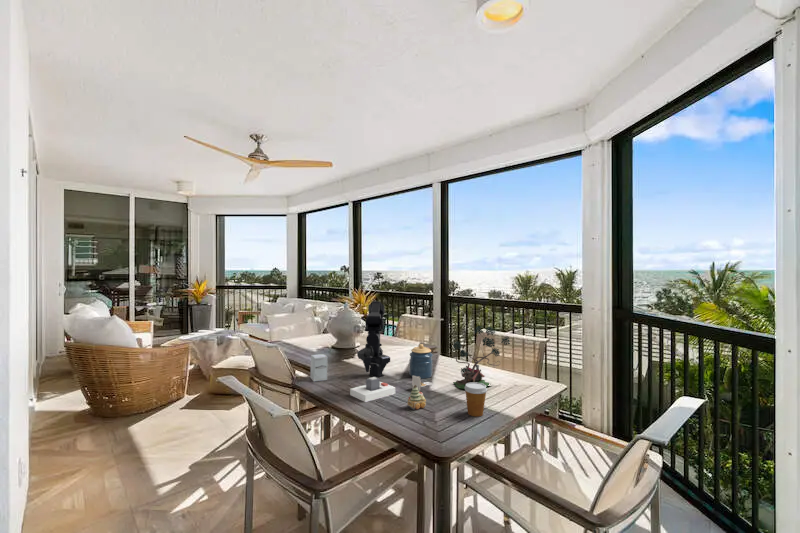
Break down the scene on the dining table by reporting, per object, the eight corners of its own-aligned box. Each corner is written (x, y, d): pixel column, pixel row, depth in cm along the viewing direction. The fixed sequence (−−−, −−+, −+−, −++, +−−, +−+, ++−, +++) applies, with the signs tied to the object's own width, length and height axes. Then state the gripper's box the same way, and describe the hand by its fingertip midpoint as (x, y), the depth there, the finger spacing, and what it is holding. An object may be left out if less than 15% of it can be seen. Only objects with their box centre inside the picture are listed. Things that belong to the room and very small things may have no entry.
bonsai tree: (479, 400, 181) (481, 332, 180) (441, 387, 199) (442, 325, 199) (522, 386, 203) (523, 325, 203) (484, 375, 222) (485, 319, 222)
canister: (405, 377, 216) (406, 345, 216) (413, 371, 228) (414, 340, 228) (428, 380, 211) (428, 347, 211) (435, 373, 223) (435, 343, 223)
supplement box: (313, 382, 204) (314, 358, 204) (310, 378, 211) (310, 354, 211) (327, 380, 208) (327, 356, 207) (323, 376, 214) (323, 353, 214)
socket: (379, 387, 197) (379, 379, 197) (395, 393, 188) (395, 385, 188) (350, 395, 185) (350, 387, 185) (365, 402, 176) (365, 393, 176)
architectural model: (416, 388, 198) (417, 374, 198) (426, 392, 193) (426, 377, 193) (411, 390, 196) (412, 375, 196) (421, 393, 190) (421, 378, 190)
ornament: (419, 403, 176) (419, 381, 176) (428, 407, 172) (428, 384, 171) (405, 407, 171) (405, 384, 171) (414, 411, 167) (414, 388, 166)
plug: (374, 391, 190) (374, 376, 190) (379, 393, 187) (379, 378, 187) (366, 393, 187) (366, 378, 187) (371, 395, 184) (371, 380, 184)
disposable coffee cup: (461, 409, 169) (462, 382, 169) (483, 409, 170) (483, 381, 170) (467, 418, 160) (467, 389, 160) (489, 418, 161) (490, 389, 161)
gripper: (348, 340, 188) (348, 373, 188) (372, 347, 174) (371, 382, 174) (367, 337, 195) (366, 369, 196) (391, 344, 182) (390, 377, 182)
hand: (373, 374), depth 187 cm, fingers open, 9 cm apart
